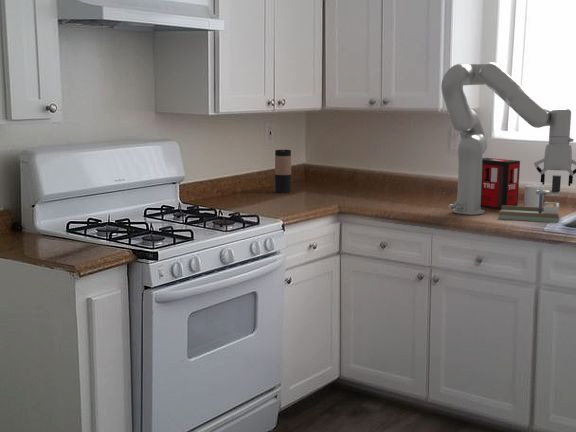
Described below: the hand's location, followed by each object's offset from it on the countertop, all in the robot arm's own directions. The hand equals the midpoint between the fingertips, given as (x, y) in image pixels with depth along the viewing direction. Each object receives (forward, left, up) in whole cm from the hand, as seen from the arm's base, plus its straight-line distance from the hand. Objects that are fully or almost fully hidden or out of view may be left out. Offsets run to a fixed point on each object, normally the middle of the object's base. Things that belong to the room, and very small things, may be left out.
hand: (556, 184), depth 308 cm
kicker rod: (-2, +2, -11) cm, 12 cm away
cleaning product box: (+2, +33, -14) cm, 36 cm away
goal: (-1, +1, -12) cm, 12 cm away
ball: (-1, +1, -10) cm, 10 cm away
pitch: (-6, +7, -13) cm, 16 cm away
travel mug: (-55, +114, -13) cm, 128 cm away
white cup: (+10, +19, -13) cm, 26 cm away
